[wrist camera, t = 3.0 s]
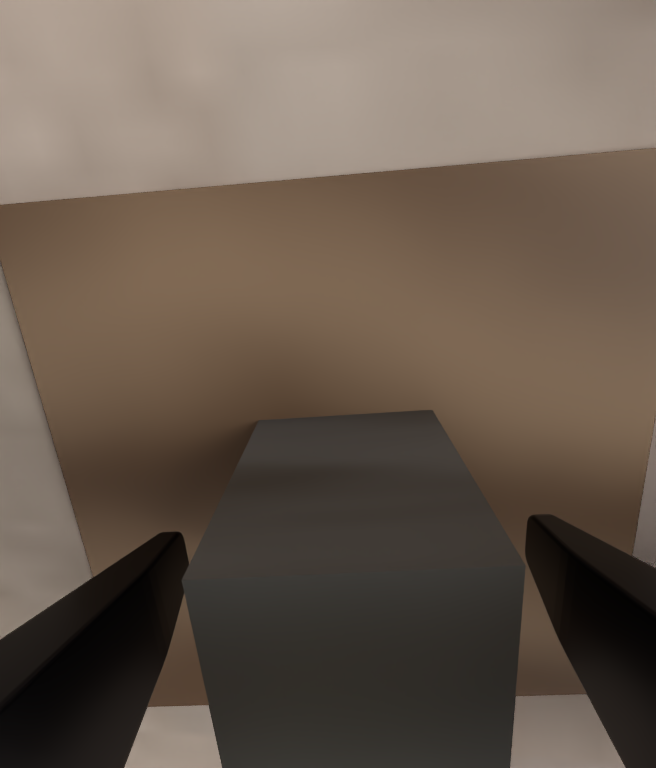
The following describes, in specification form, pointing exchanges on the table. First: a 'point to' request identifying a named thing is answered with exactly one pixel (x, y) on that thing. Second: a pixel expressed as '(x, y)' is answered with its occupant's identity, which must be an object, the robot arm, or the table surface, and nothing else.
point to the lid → (352, 431)
